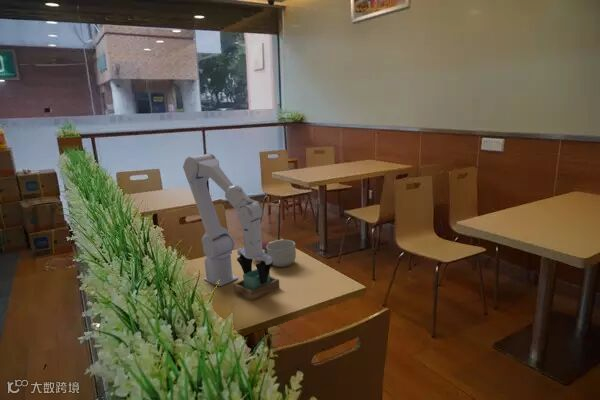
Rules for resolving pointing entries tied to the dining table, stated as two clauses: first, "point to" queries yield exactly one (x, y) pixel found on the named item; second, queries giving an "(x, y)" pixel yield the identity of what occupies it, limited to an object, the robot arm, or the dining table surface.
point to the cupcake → (264, 244)
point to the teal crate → (253, 280)
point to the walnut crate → (257, 292)
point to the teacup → (282, 252)
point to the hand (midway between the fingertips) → (256, 279)
